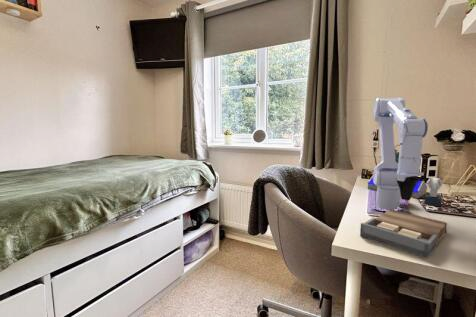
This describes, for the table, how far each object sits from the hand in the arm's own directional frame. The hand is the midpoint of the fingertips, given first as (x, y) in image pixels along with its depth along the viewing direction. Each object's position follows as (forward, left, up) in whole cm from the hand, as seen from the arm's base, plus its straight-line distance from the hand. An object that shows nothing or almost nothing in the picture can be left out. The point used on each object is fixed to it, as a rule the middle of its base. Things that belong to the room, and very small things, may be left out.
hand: (405, 199), depth 82 cm
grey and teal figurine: (-36, 0, -10) cm, 37 cm away
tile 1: (+12, -1, -8) cm, 14 cm away
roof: (-47, -17, -10) cm, 51 cm away
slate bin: (+13, +2, -9) cm, 16 cm away
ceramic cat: (-82, -27, -10) cm, 87 cm away
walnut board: (+1, +2, -9) cm, 10 cm away
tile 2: (+13, +5, -8) cm, 16 cm away
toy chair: (-26, -11, -10) cm, 30 cm away
